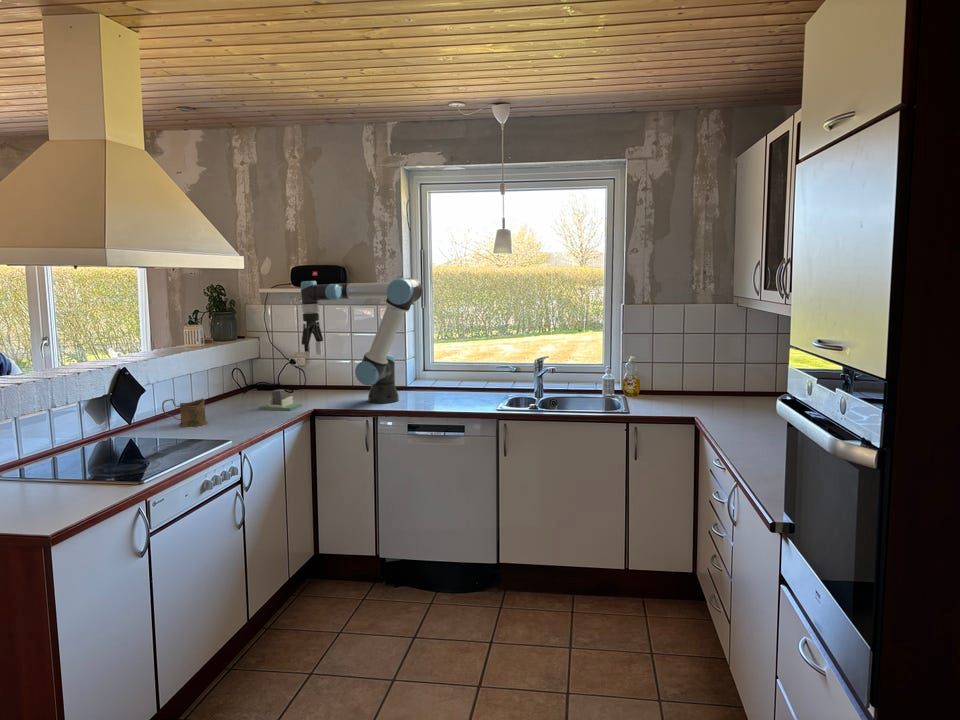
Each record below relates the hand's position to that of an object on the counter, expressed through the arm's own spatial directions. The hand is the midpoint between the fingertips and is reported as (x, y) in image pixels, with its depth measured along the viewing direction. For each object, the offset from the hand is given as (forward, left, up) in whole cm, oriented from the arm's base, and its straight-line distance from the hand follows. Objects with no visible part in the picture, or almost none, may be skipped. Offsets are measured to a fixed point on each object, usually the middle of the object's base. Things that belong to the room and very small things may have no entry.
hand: (313, 356), depth 348 cm
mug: (+32, +58, -23) cm, 70 cm away
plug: (+11, +15, -22) cm, 28 cm away
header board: (+11, +15, -23) cm, 29 cm away
